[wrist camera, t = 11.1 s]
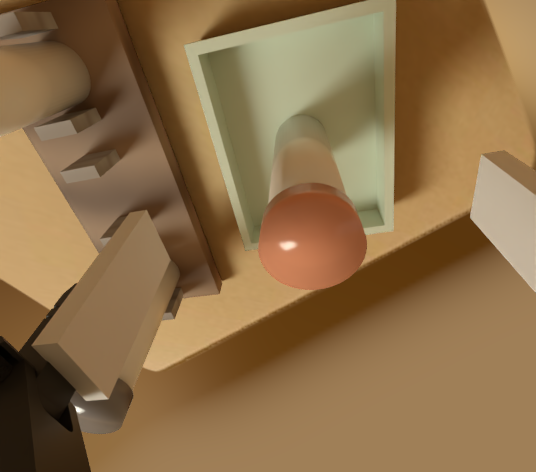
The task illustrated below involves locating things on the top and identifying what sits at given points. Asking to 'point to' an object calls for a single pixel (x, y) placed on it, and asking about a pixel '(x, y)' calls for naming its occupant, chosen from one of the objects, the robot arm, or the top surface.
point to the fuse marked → (309, 212)
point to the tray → (304, 103)
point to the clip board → (113, 140)
